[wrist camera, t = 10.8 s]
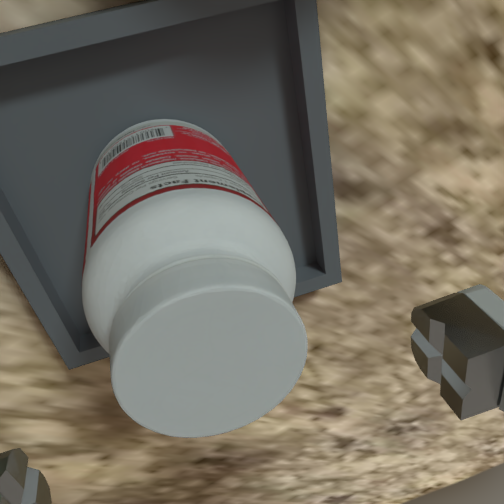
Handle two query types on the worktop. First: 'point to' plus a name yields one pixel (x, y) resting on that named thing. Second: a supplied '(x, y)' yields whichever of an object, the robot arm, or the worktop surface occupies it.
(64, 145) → the tray
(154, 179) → the pill bottle
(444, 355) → the robot arm
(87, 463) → the worktop surface
